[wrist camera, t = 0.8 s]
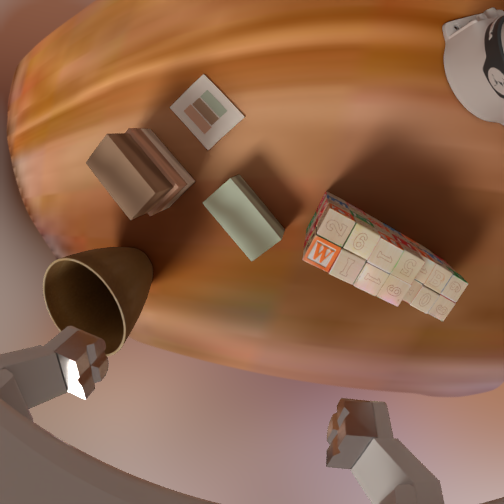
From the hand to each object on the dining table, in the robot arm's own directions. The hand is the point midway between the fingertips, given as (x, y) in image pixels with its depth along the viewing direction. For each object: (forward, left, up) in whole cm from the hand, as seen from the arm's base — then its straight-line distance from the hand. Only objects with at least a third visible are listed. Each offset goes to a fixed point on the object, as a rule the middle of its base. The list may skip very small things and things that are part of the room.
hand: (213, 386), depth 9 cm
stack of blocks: (-6, +13, -36) cm, 39 cm away
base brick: (+12, -16, -36) cm, 41 cm away
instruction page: (+1, -17, -36) cm, 40 cm away
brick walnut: (+12, -16, -30) cm, 36 cm away
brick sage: (+6, -2, -36) cm, 36 cm away
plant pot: (+27, -8, -36) cm, 46 cm away
